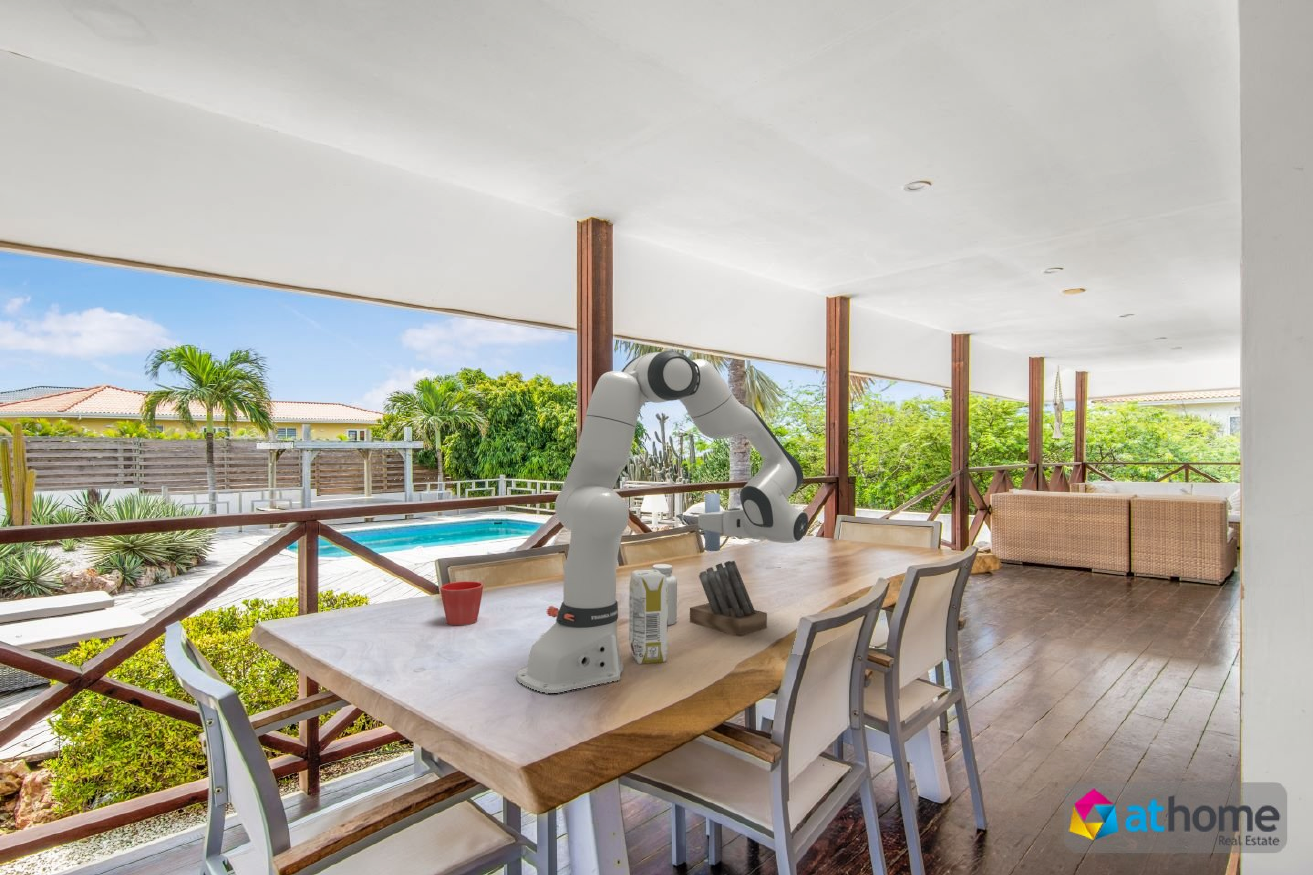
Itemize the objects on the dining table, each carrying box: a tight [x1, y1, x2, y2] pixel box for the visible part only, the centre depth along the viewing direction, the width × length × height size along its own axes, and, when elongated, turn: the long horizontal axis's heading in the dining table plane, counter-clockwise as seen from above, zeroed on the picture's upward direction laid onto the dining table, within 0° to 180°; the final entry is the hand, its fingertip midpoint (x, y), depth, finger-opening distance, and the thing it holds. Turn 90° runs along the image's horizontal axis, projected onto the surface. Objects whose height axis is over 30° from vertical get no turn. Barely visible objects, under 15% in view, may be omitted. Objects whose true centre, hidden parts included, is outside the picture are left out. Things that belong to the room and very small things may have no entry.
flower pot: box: [439, 581, 484, 626], centre depth 177 cm, size 11×11×10 cm
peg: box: [704, 492, 721, 552], centre depth 179 cm, size 4×4×15 cm
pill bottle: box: [651, 563, 678, 626], centre depth 177 cm, size 8×8×15 cm
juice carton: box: [628, 569, 669, 665], centre depth 149 cm, size 8×9×19 cm
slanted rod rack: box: [689, 560, 768, 637], centre depth 175 cm, size 17×11×18 cm, turn 43°
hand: (709, 515), depth 180 cm, fingers closed on peg, 4 cm apart
